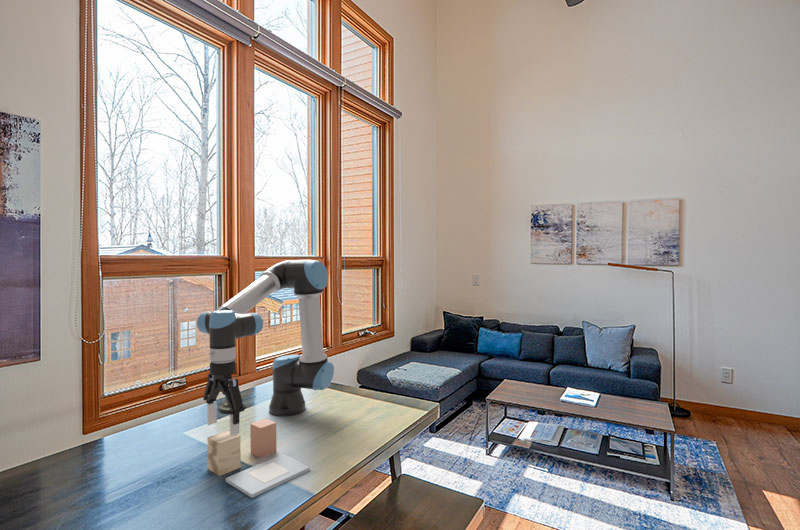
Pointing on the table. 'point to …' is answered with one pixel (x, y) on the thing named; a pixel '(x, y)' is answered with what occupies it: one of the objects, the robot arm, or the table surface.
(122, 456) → the table surface
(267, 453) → the terracotta block
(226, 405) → the grey lumpy mound
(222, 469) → the beech block
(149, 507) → the table surface
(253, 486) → the white flat board
